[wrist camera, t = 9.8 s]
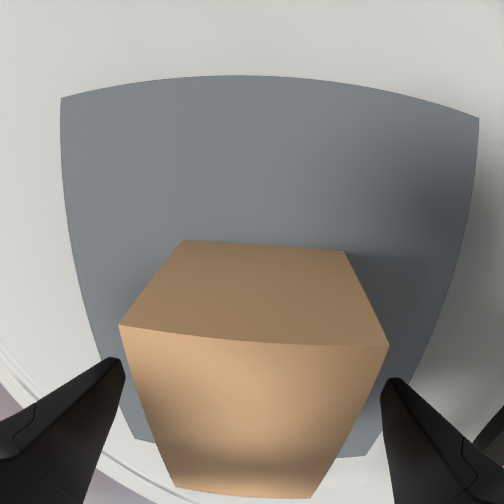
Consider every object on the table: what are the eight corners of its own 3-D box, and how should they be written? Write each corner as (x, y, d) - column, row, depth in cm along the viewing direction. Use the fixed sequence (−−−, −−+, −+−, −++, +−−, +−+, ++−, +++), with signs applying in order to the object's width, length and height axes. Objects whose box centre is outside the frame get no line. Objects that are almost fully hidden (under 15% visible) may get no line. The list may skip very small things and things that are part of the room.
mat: (70, 98, 8) (60, 98, 8) (469, 117, 7) (479, 118, 7) (137, 431, 15) (134, 438, 14) (363, 447, 14) (365, 455, 14)
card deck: (197, 404, 12) (175, 486, 8) (182, 239, 9) (118, 324, 5) (305, 412, 12) (310, 498, 8) (343, 251, 9) (390, 345, 5)
